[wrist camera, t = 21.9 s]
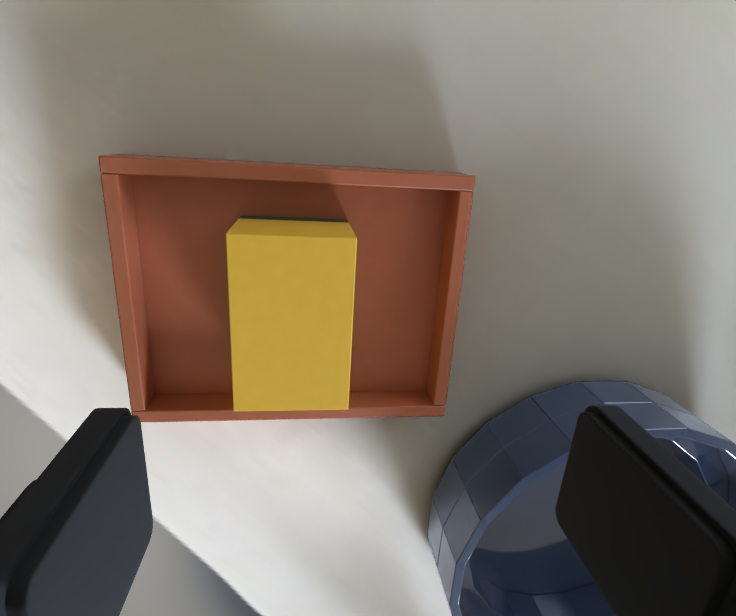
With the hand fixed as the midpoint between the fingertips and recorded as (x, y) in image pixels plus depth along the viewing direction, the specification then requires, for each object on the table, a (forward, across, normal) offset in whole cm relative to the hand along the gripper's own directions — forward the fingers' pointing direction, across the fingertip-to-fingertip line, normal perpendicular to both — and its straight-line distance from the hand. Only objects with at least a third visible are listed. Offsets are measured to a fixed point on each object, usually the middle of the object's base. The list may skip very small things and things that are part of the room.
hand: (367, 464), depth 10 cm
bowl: (+13, -14, +13) cm, 23 cm away
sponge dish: (+12, +2, 0) cm, 13 cm away
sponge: (+12, +2, 0) cm, 12 cm away
